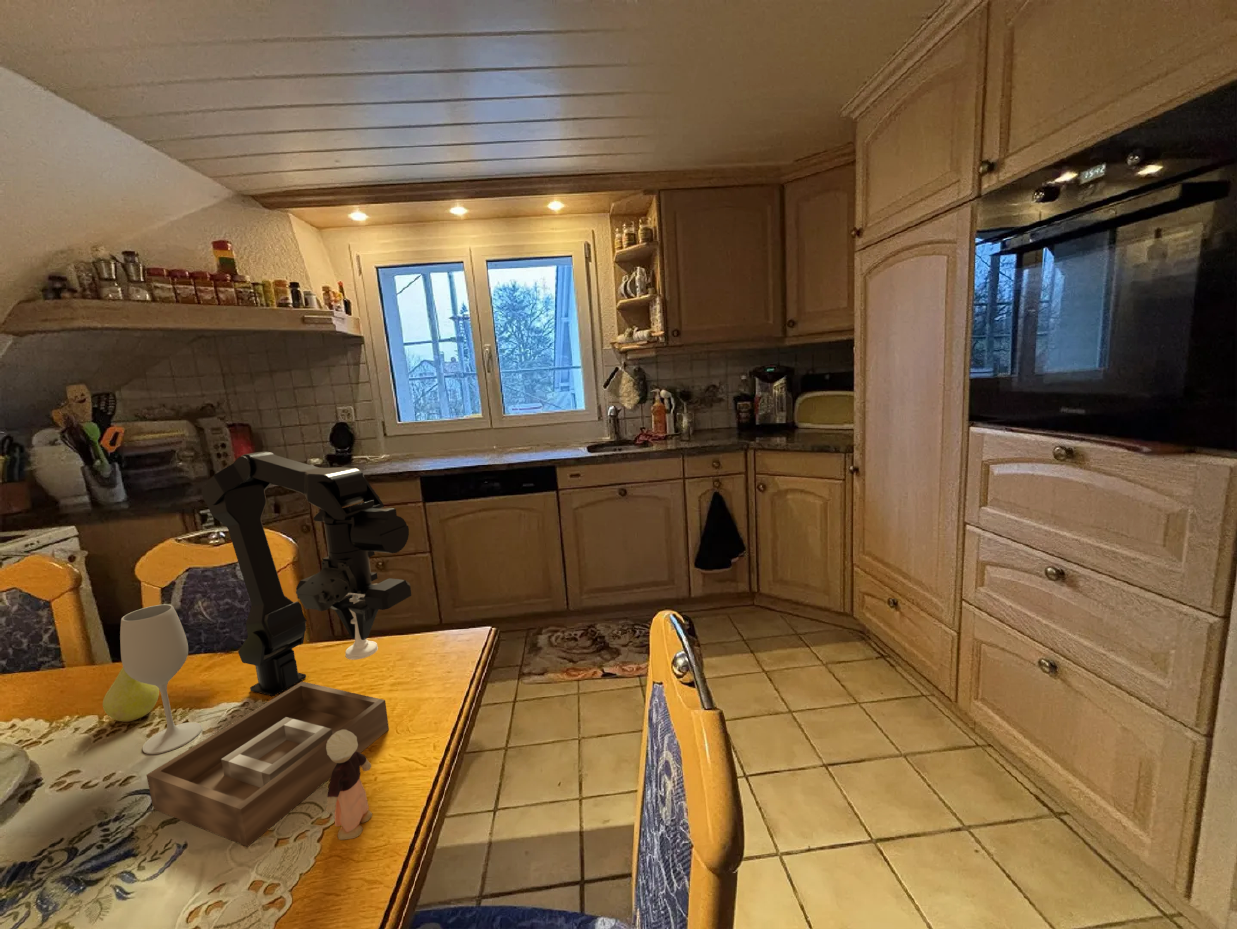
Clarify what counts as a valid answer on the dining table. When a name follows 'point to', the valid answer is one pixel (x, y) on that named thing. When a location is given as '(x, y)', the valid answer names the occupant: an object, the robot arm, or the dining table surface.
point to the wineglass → (157, 665)
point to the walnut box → (264, 761)
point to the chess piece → (359, 641)
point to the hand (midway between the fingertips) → (359, 638)
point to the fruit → (129, 698)
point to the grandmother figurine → (347, 785)
